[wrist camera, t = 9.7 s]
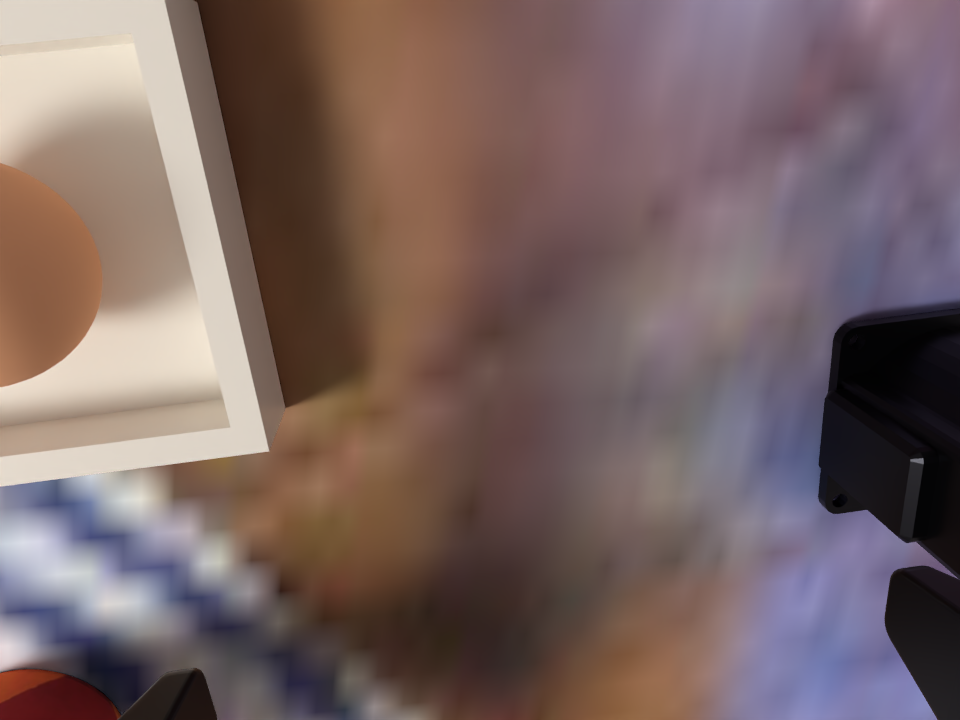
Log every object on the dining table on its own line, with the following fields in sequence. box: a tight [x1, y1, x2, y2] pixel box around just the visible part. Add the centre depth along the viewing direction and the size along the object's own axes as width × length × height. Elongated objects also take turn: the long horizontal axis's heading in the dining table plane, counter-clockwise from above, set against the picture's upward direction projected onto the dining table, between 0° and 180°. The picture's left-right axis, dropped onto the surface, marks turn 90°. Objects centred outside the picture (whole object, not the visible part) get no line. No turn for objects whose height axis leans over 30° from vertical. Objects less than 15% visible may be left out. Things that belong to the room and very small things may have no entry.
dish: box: [0, 0, 285, 487], centre depth 17 cm, size 11×11×3 cm
